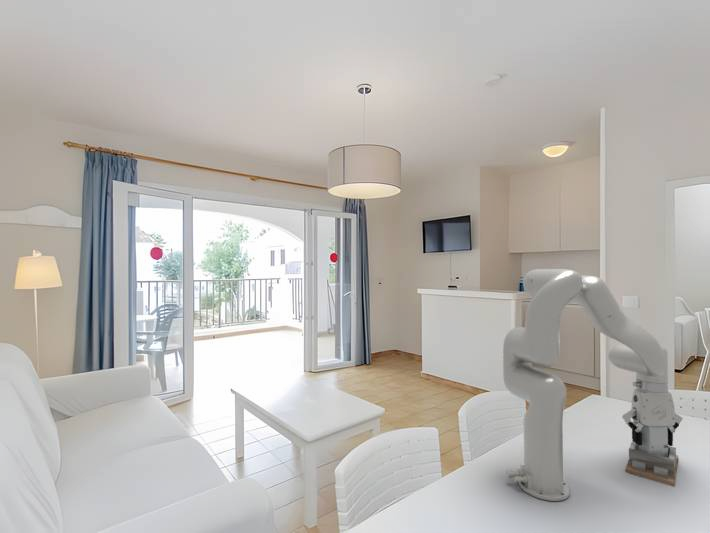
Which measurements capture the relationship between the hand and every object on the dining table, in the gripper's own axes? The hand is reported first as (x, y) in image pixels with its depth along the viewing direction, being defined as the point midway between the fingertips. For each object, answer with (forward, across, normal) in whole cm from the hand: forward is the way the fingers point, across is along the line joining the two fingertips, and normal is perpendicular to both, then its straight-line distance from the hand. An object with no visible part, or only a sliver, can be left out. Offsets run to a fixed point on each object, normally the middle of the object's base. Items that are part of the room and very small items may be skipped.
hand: (652, 443), depth 114 cm
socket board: (+7, 0, 0) cm, 7 cm away
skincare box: (+6, 0, 0) cm, 6 cm away
